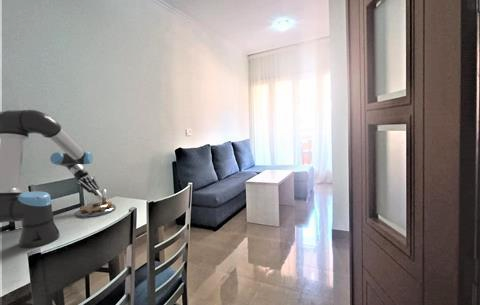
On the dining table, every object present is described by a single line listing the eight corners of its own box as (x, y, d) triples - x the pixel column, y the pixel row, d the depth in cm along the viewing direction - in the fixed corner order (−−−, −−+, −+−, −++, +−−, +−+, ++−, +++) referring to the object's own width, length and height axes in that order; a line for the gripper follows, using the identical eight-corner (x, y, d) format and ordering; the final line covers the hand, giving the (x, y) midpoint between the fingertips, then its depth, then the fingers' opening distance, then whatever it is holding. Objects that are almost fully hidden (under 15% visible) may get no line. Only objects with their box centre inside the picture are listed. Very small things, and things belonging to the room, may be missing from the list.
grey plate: (95, 218, 148) (95, 216, 148) (67, 216, 154) (67, 213, 154) (123, 206, 169) (123, 204, 169) (97, 205, 175) (97, 202, 175)
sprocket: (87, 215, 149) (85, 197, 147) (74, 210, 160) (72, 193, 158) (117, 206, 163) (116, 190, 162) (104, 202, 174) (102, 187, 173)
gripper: (85, 173, 176) (106, 198, 174) (67, 178, 164) (90, 205, 161) (90, 166, 174) (112, 191, 171) (73, 170, 162) (96, 197, 159)
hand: (101, 198), depth 166 cm, fingers closed
